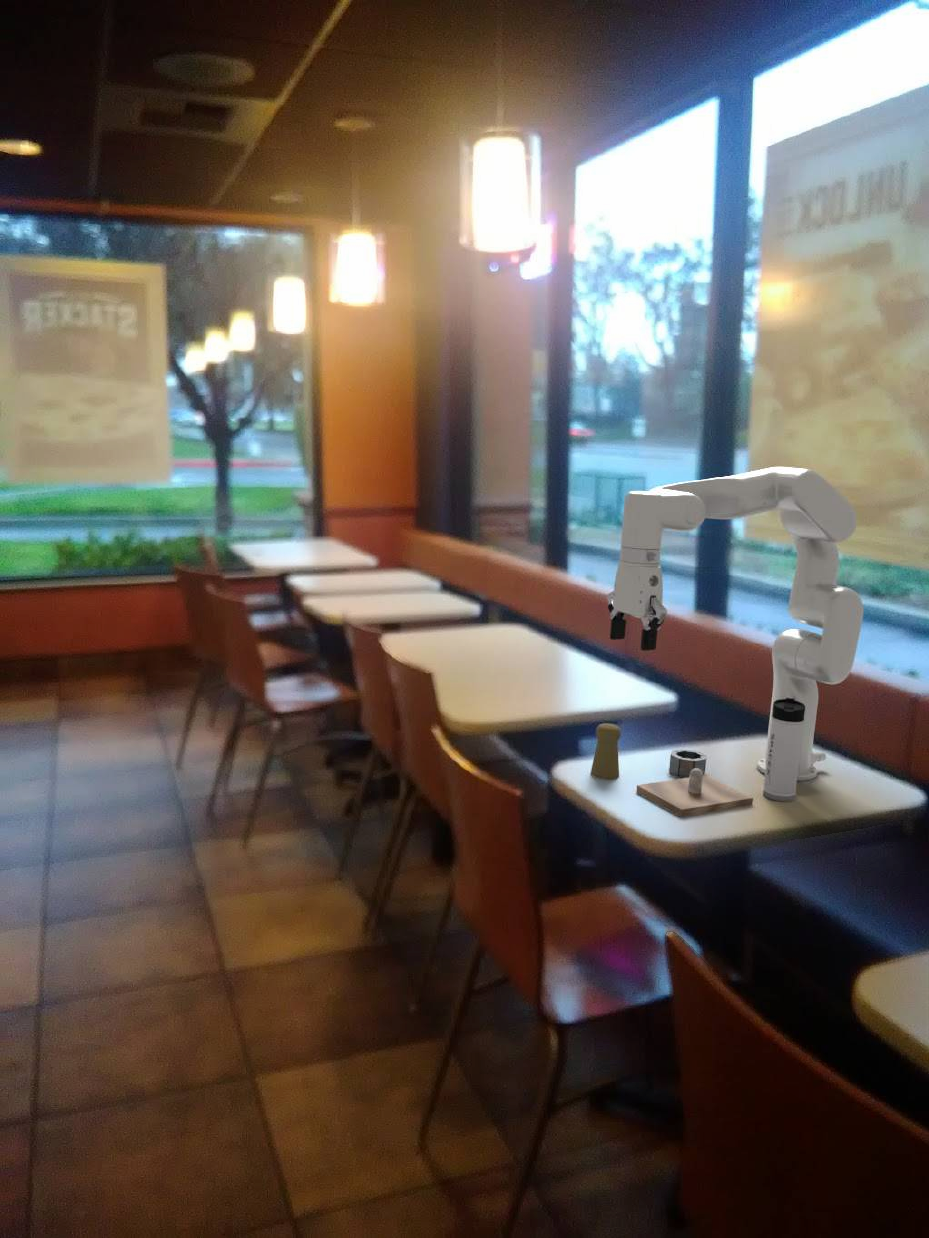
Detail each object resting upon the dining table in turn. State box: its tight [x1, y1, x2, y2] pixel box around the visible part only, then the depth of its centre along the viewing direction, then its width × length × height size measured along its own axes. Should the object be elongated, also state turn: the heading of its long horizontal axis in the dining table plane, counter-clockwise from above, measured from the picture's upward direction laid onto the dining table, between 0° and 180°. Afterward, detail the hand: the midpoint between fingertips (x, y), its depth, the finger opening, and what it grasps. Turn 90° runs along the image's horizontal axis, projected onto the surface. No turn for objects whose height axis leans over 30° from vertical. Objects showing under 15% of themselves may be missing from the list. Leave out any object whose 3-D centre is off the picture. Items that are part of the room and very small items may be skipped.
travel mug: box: [762, 698, 805, 803], centre depth 207 cm, size 6×7×20 cm
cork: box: [590, 722, 622, 781], centre depth 216 cm, size 6×6×11 cm
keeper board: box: [636, 768, 754, 818], centre depth 205 cm, size 18×14×6 cm
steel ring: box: [668, 748, 708, 779], centre depth 220 cm, size 7×7×4 cm
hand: (632, 644), depth 198 cm, fingers open, 9 cm apart
